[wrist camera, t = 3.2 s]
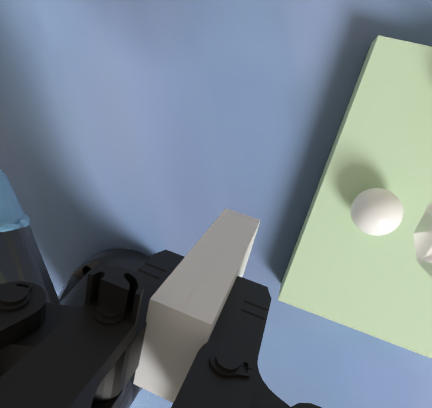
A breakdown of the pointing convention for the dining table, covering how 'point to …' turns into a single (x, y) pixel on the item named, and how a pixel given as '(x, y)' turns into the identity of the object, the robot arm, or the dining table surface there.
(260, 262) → the dining table surface
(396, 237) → the putting mat
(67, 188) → the dining table surface
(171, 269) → the robot arm
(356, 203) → the white ball
